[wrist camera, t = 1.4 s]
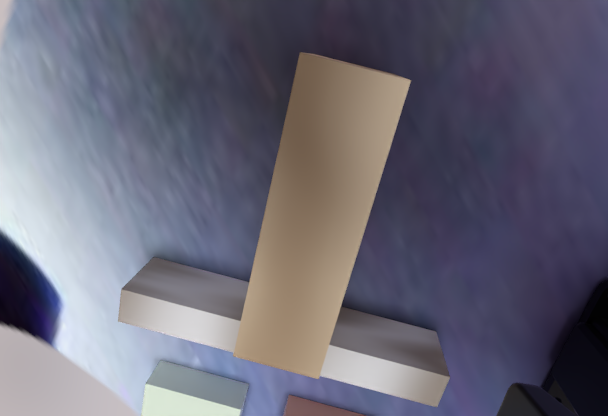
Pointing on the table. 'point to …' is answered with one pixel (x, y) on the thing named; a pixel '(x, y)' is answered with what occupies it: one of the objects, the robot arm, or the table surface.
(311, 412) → the tile terracotta
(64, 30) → the table surface
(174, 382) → the tile sage
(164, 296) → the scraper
